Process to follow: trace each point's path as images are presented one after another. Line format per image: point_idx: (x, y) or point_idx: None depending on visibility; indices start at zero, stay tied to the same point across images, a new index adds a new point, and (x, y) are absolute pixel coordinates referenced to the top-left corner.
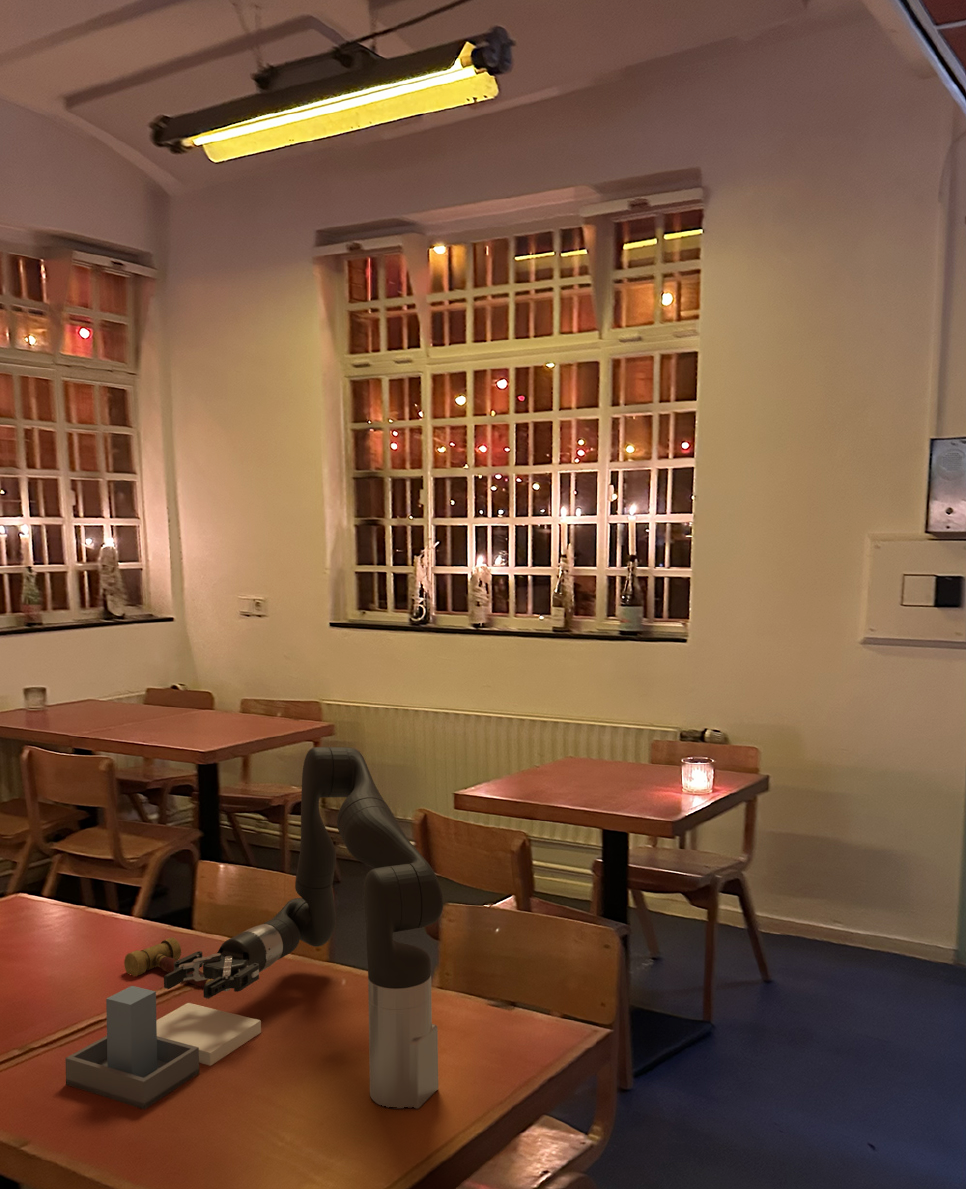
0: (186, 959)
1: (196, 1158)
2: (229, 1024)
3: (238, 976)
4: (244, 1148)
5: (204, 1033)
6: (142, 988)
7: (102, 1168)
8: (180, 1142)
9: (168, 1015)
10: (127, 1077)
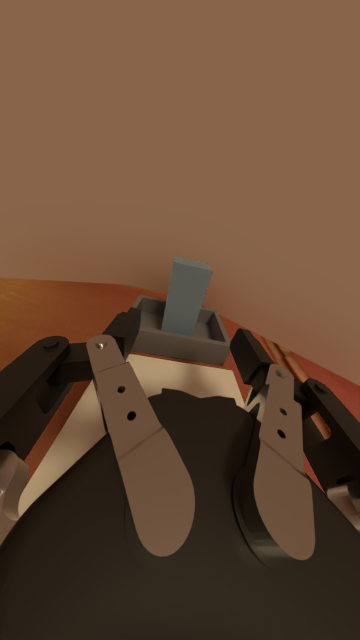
0: (339, 421)
1: (80, 288)
2: None
3: (44, 340)
4: (46, 291)
5: (145, 392)
6: (194, 266)
7: (130, 287)
8: (96, 295)
9: None
10: (155, 298)
